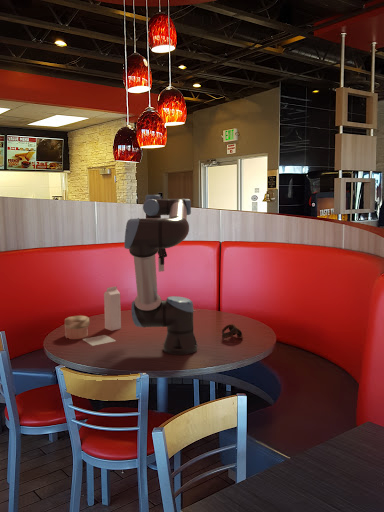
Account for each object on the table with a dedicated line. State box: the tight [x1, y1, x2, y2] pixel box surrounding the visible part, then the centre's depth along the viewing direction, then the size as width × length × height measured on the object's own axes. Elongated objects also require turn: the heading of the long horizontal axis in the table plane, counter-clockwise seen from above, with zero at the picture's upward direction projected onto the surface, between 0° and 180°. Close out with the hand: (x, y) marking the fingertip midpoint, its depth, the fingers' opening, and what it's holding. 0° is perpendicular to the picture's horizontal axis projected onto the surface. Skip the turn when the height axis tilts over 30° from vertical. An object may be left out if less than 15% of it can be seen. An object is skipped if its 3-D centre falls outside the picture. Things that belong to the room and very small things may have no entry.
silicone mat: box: [81, 334, 117, 347], centre depth 222 cm, size 12×12×1 cm
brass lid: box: [64, 315, 90, 329], centre depth 228 cm, size 12×12×4 cm
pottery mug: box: [221, 323, 244, 341], centre depth 225 cm, size 12×10×8 cm
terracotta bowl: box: [64, 326, 89, 340], centre depth 229 cm, size 10×10×6 cm
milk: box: [103, 285, 122, 332], centre depth 240 cm, size 6×6×22 cm
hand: (154, 269), depth 232 cm, fingers open, 13 cm apart
